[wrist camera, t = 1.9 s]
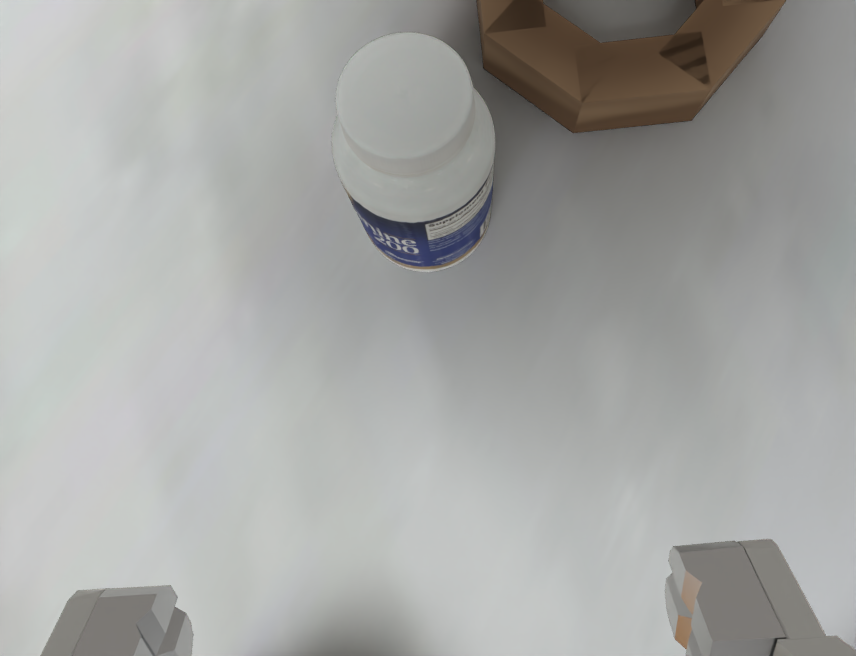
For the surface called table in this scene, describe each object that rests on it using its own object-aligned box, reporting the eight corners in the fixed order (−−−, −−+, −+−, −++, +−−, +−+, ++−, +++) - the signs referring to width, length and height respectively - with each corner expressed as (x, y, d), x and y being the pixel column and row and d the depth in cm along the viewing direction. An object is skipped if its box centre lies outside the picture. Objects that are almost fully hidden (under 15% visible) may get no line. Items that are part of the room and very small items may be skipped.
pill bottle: (340, 207, 29) (272, 85, 20) (436, 132, 29) (417, -25, 20) (417, 301, 28) (387, 220, 19) (517, 221, 28) (537, 102, 19)
